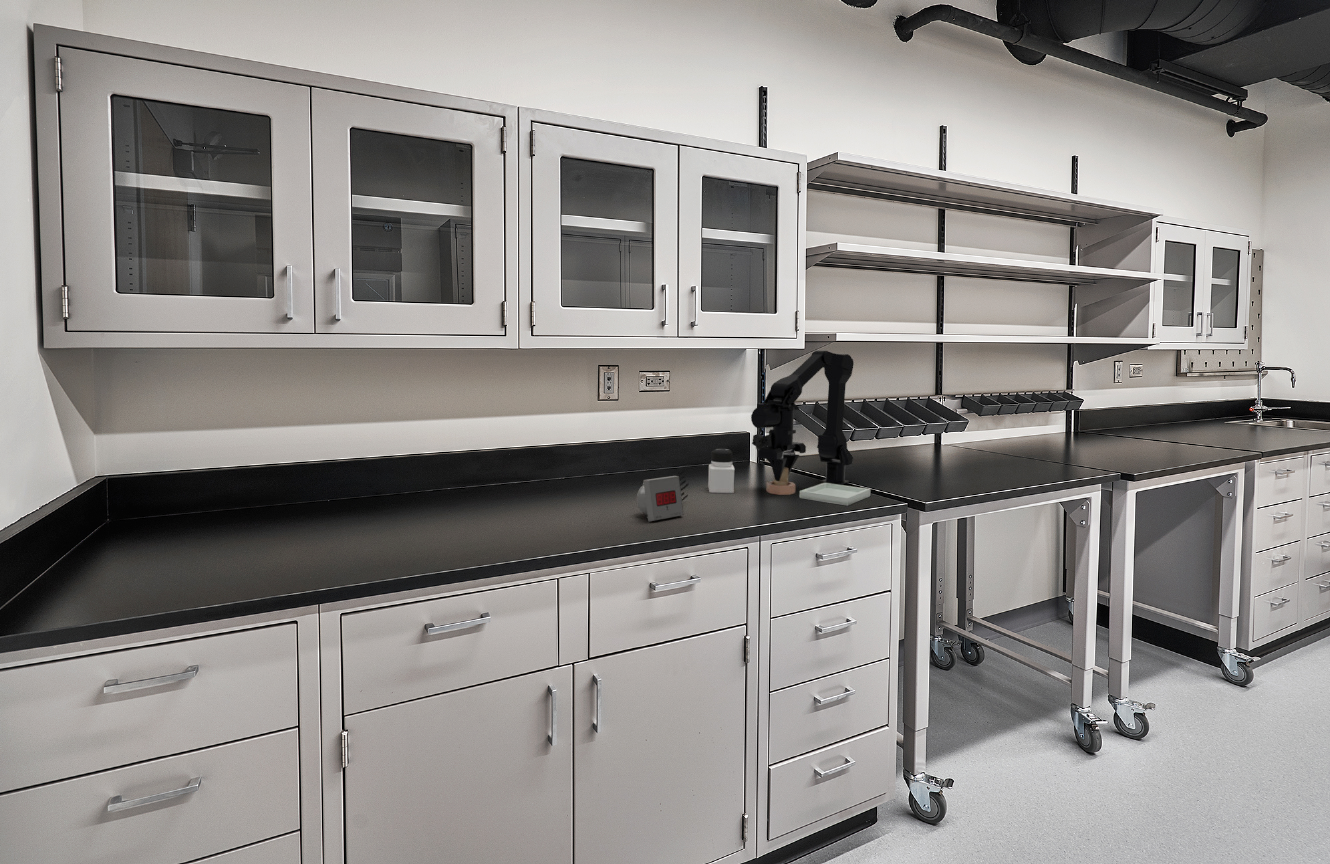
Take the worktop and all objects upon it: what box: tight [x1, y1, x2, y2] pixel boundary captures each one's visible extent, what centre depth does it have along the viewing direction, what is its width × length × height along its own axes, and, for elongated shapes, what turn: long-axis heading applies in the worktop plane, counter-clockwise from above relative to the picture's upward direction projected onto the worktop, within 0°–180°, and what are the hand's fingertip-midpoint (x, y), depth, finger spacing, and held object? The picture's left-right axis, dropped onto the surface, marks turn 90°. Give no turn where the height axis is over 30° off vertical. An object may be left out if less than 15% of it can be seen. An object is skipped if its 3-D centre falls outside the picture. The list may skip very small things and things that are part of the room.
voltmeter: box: [636, 466, 691, 522], centre depth 176 cm, size 27×11×10 cm, turn 165°
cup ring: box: [765, 480, 796, 496], centre depth 202 cm, size 8×8×2 cm
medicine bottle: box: [707, 448, 736, 494], centre depth 202 cm, size 7×7×12 cm
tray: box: [799, 482, 871, 507], centre depth 196 cm, size 16×14×2 cm
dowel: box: [773, 467, 789, 485], centre depth 201 cm, size 4×4×7 cm
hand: (781, 479), depth 201 cm, fingers closed on dowel, 4 cm apart
